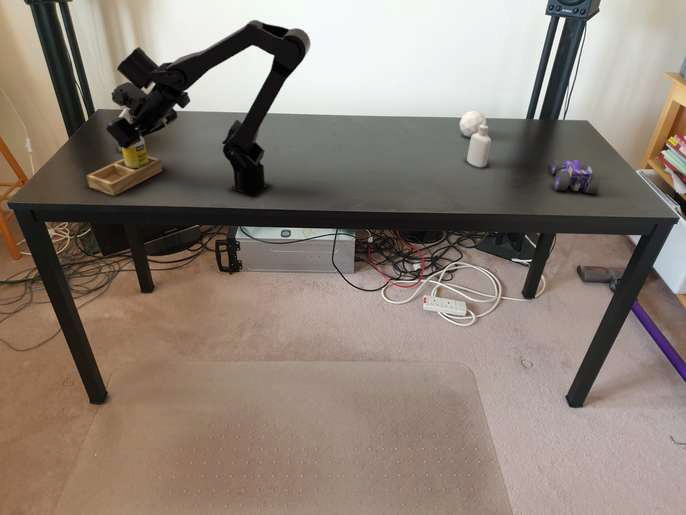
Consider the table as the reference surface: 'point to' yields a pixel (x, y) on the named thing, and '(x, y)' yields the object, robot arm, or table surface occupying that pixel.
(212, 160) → the table surface
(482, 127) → the eye dropper bottle
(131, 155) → the supplement bottle
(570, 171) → the toy race car
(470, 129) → the geometric ball
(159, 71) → the robot arm
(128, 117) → the cassette
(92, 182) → the tray
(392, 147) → the table surface
